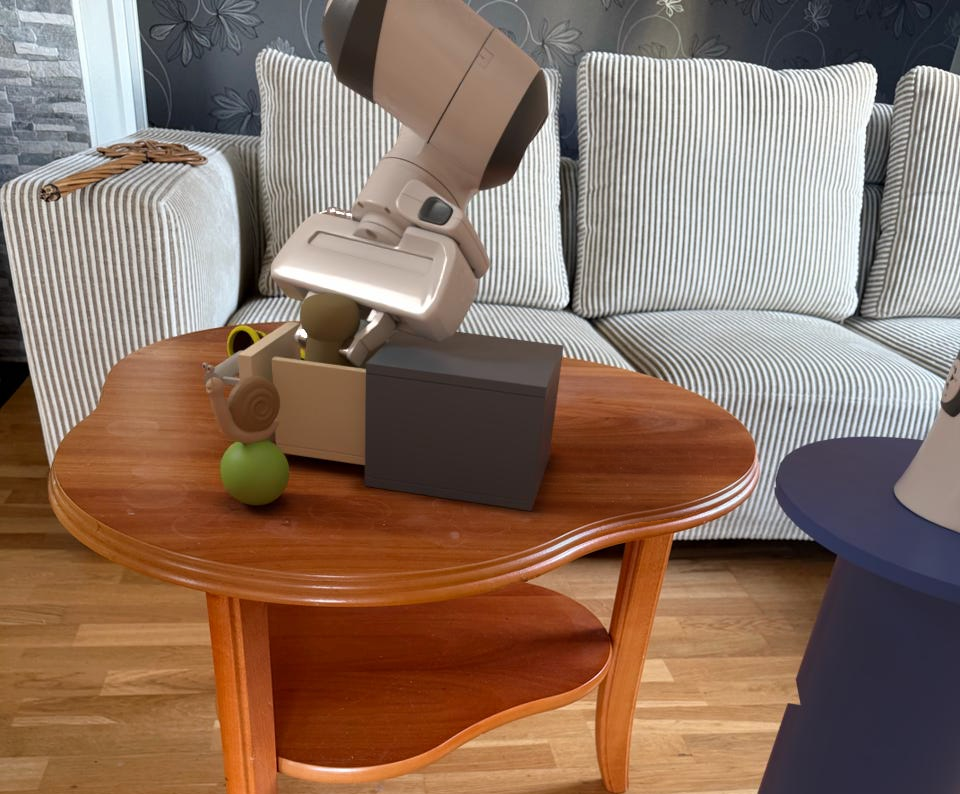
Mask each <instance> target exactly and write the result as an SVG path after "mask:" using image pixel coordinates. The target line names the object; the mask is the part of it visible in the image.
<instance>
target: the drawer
mask: <svg viewBox="0 0 960 794" xmlns="http://www.w3.org/2000/svg"><path fill="white" fill-rule="evenodd" d="M300 325H301V322H294V321H287V322H284V324H282V325H280V326H279V327H278V328H276V329H275V330H273V331H271V332H270V333H267V334H268V335H267V336H265V337H264V338H262V339H261V340H259V341H258V342H256V343H255V344H253V345H252V346H250V347H249V348H247V349H246V350H244V351H239V352H237V353H235V354H234V355H232V356H231V357H229V356H228V358H226V359H224V360H223V361H222V362H221V363H219V364H217V365H216V366H214V367H215V370H214V372H212V378H214V377H215V378H219V379H221V380H222V381H223V383H224V385H225V386H231V387H234V386H235V385H236V384H237V383H239V382H240V381H241V380H243V379H245V378H247V377H250V376H260V377H264V378H266V379H268V380H269V381H270V382H272V383H273V384H274V386H275V387H276V389H277V391H278V393H279V397H280V409H279V412H278V415H277V417H276V419H275V420H278V421H279V424H278V427H277V428H276V430H275V432H274V433H273V434H272V435H271V436H270V437H269V438H267V439H266V440H268V441H270V442H272V443H274V442H275V445H276V446H277V447H278V448H279V449H280V450H281V451H282V452H283V454H286V455H293V456H299V457H306V458H313V459H319V460H326V461H327V460H328V461H334V462H340V463H347V464H354V465H361V466H365V397H366V362H367V361H368V360H369V359H370V358H372V357H373V356H374V355H375V354H376V353H377V352H378V351H379V350H380V349H381V348H382V347H383V346H384V345H385V344H386V343H387V342H388V341H389V340H387V341H385V342H384V343H382V344H381V345H379V346H378V347H376V348H375V349H374V350H372V351H369V353H368V354H367V356H366V358H365V359H364V361H363V363H362V364H361V365H360V366H358V368H354V367H347V366H340V365H332V364H325V363H318V362H310V361H303V360H301V349H302V347H301V346H300V345H299V344H298V343H297V342H296V341H295V339H294V336H295V333H296V332H297V330H298V328H299V327H300ZM354 338H355V336H354ZM206 373H207V378H208V380H209V379H210V378H211V373H210V372H209V371H208V370H207V371H206ZM206 373H205V374H204V375H203V382H204V384H205V385H206V383H207V379H206ZM238 375H239V377H237V376H238Z"/></svg>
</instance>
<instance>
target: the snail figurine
mask: <svg viewBox="0 0 960 794" xmlns="http://www.w3.org/2000/svg"><path fill="white" fill-rule="evenodd" d="M201 367H202V369H203V370H204V371H205V373H206V372H208V371H209V372H210V373H211V378H210V379H209V380H208V378H207V373H206V379H207V383H206V384H205V391H206V393H207V395H208V396H209V400H210V404H211V409H212V412H213V415H214V418H215V420H216V423H217V425H218V427H219V429H220V431H221V432H222V433H223V435H224V436H225V437H226V438H228V439H229V440H231V441H234V443H232V444H231V445H230V446H229V447H228V448H227V449H226V451H225V452H224V453H223V455H222V458H221V461H220V464H219V465H220V468H219V475H220V479H221V482H222V484H223V486H224V489H225V490H226V491H227V492H228V493H229V495H230V496H231V497H232V498H233V499H235V500H237V501H238V502H240V503H242V504H246V505H249V506H263V505H267V504H270V503H272V502H274V501H275V500H278V499H279V498H280V497H281V495H282V494H283V493H284V492H285V490H286V488H287V486H288V483H289V480H290V466H289V461H288V459H287V456H285V453H283V452H282V451H281V450H280V449H279V448H278V447H277V446H276V443H274V442H273V443H272V442H270V441H268V440H266V439H267V438H269V437H270V436H271V435H272V434H273V433H274V432H275V430H276V428H277V427H278V424H279V421H278V420H275V419H276V417H277V415H278V412H279V409H280V397H279V393H278V391H277V389H276V387H275V386H274V384H273V383H272V382H270V381H269V380H268V379H266V378H264V377H260V376H250V377H247V378H245V379H243V380H241V381H240V382H239V383H237V384H236V385H235V386H233V388H232V389H231V391H230V392H229V394H228V397H227V399H226V395H225V390H226V385H224V383H223V381H222V380H221V379H219V378H215V377H214V378H212V372H214V370H215V367H216V366H214V365H213V364H209V362H206V361H205V362H202V365H201Z"/></svg>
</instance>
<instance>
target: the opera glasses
mask: <svg viewBox="0 0 960 794" xmlns="http://www.w3.org/2000/svg"><path fill="white" fill-rule="evenodd" d="M268 334H269V333H265V332H263V331H260V330H255V329H254V328H252V327H250V325H249V326H248V325H246V324H245V325H242V324H241V325H238V326H236V327H234V328H233V329H232V330H231V331H230V333H229V334H228V337H227V342H226V352H227V355H228V358H229V357H231V356H232V355H234V354H235V353H237V352H239V351H244V350H246V349H247V348H249V347H250V346H252V345H253V344H255V343H256V342H258V341H259V340H261V339H262V338H264V337H265V336H267V335H268ZM305 352H306V351H305V349H303V348H301V358H303V359H305Z"/></svg>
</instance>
